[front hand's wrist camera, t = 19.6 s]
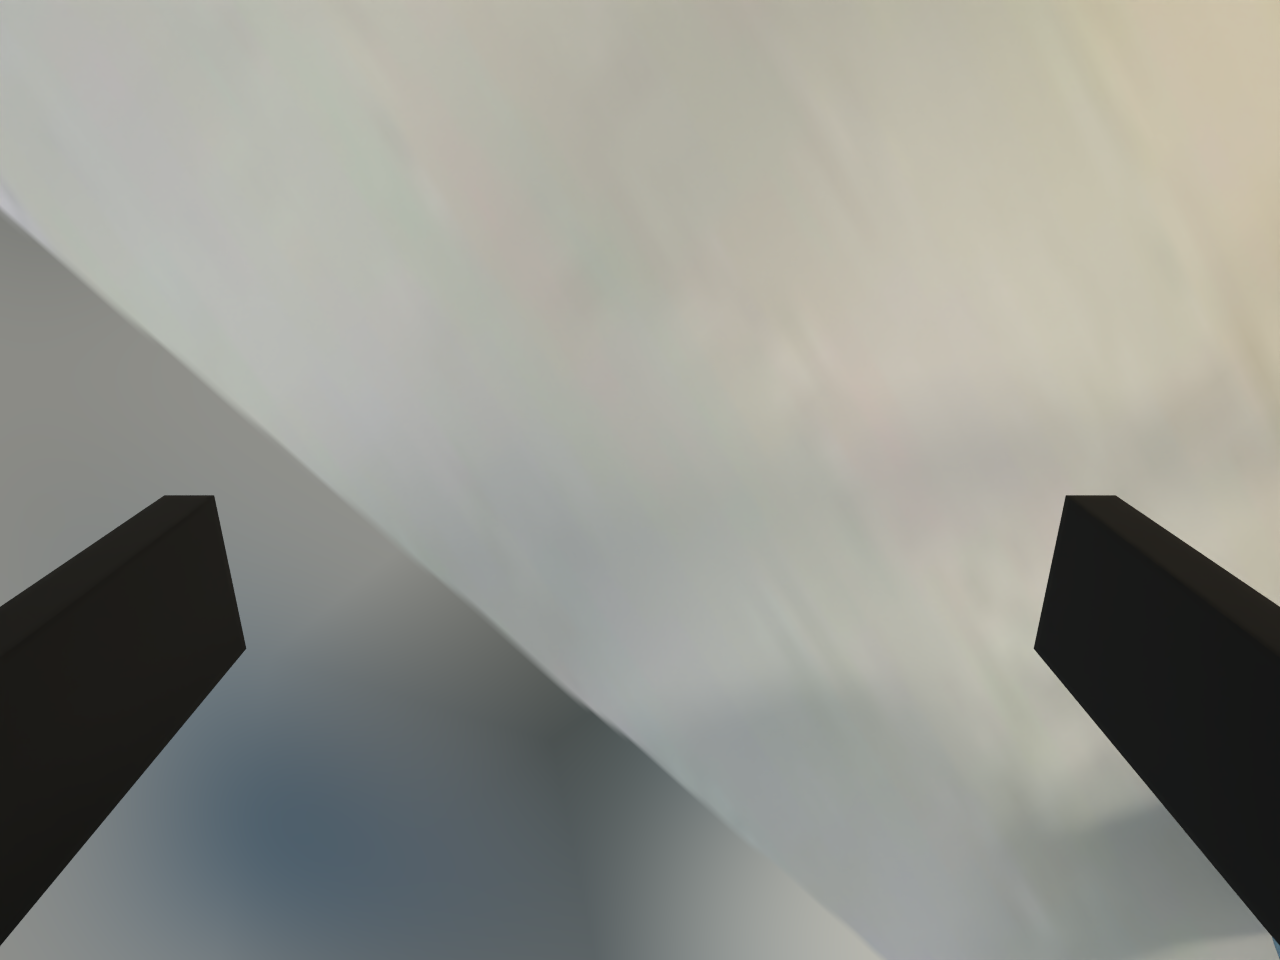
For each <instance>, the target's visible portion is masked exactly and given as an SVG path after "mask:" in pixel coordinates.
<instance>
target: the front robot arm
mask: <svg viewBox="0 0 1280 960" xmlns="http://www.w3.org/2000/svg"><path fill="white" fill-rule="evenodd" d="M245 649H246V646H245V641H244V636H243V631H242V626H241V622H240V617H239V612H238V607H237V602H236V598H235V593H234V588H233V583H232V579H231V574H230V569H229V564H228V560H227V555H226V550H225V545H224V541H223V536H222V531H221V526H220V521H219V517H218V512H217V507H216V502H215V497H214V496H213V495H211V496H210V495H209V496H207V495H205V496H204V495H202V496H199V495H197V496H194V495H192V496H191V495H190V496H187V495H186V496H183V495H182V496H181V495H173V496H172V495H171V496H170V495H168V496H167V495H165V496H163V497H161V498H160V499H158V500H157V501H156V502H154V503H153V504H151V505H150V506H148V507H147V508H145V509H144V510H142V511H141V512H139V513H138V514H136V515H135V516H133V517H132V518H130V519H129V520H128V521H126V522H125V523H123V524H122V525H120V526H119V527H117V528H116V529H114V530H113V531H111V532H110V533H108V534H107V535H105V536H104V537H102V538H101V539H100V540H98V541H97V542H95V543H94V544H92V545H91V546H89V547H88V548H86V549H85V550H83V551H82V552H80V553H79V554H77V555H76V556H75V557H73V558H72V559H70V560H69V561H67V562H66V563H64V564H63V565H61V566H60V567H58V568H57V569H55V570H54V571H52V572H51V573H49V574H48V575H46V576H45V577H44V578H42V579H41V580H39V581H38V582H36V583H35V584H33V585H32V586H30V587H29V588H27V589H26V590H24V591H23V592H21V593H20V594H19V595H17V596H15V597H14V598H13V599H11V600H10V601H8V602H7V603H5V604H4V605H2V606H1V607H0V945H1V944H2V943H3V942H4V941H5V939H6V938H7V937H8V936H9V934H10V933H11V932H12V931H13V930H14V928H15V927H16V926H17V925H18V924H19V922H20V921H21V920H22V919H23V918H24V916H25V915H26V914H27V913H28V912H29V910H30V909H31V908H32V907H33V905H34V904H35V903H36V902H37V901H38V900H39V898H40V897H41V896H42V895H43V893H44V892H45V891H46V890H47V889H48V887H49V886H50V885H51V884H52V883H53V881H54V880H55V879H56V878H57V876H58V875H59V874H60V873H61V872H62V871H63V869H64V868H65V867H66V866H67V864H68V863H69V862H70V861H71V860H72V858H73V857H74V856H75V855H76V854H77V852H78V851H79V850H80V849H81V848H82V846H83V845H84V844H85V843H86V842H87V840H88V839H89V838H90V837H91V835H92V834H93V833H94V832H95V831H96V829H97V828H98V827H99V826H100V825H101V823H102V822H103V821H104V820H105V819H106V817H107V816H108V815H109V814H110V813H111V811H112V810H113V809H114V808H115V806H116V805H117V804H118V803H119V802H120V800H121V799H122V798H123V797H124V796H125V794H126V793H127V792H128V791H129V790H130V788H131V787H132V786H133V785H134V783H135V782H136V781H137V780H138V779H139V777H140V776H141V775H142V774H143V773H144V771H145V770H146V769H147V768H148V767H149V765H150V764H151V763H152V762H153V760H154V759H155V758H156V757H157V756H158V755H159V753H160V752H161V751H162V750H163V748H164V747H165V746H166V745H167V744H168V742H169V741H170V740H171V739H172V738H173V736H174V735H175V734H176V733H177V732H178V730H179V729H180V728H181V727H182V726H183V724H184V723H185V722H186V721H187V719H188V718H189V717H190V716H191V715H192V713H193V712H194V711H195V710H196V709H197V707H198V706H199V705H200V704H201V703H202V701H203V700H204V699H205V698H206V696H207V695H208V694H209V693H210V692H211V691H212V689H213V688H214V687H215V686H216V684H217V683H218V682H219V681H220V680H221V678H222V677H223V676H224V675H225V674H226V672H227V671H228V670H229V669H230V667H231V666H232V665H233V664H234V663H235V662H236V660H237V659H238V658H239V657H240V655H241V654H242V653H243V652H244V651H245ZM1034 649H1035V651H1036V652H1037V653H1038V654H1039V655H1040V657H1041V658H1042V659H1043V660H1044V662H1045V663H1046V664H1047V665H1048V666H1049V668H1050V669H1051V670H1052V671H1053V672H1054V674H1055V675H1056V676H1057V677H1058V678H1059V680H1060V681H1061V682H1062V683H1063V684H1064V686H1065V687H1066V688H1067V689H1068V691H1069V692H1070V693H1071V694H1072V695H1073V697H1074V698H1075V699H1076V700H1077V701H1078V703H1079V704H1080V705H1081V706H1082V707H1083V709H1084V710H1085V711H1086V712H1087V713H1088V715H1089V716H1090V717H1091V718H1092V720H1093V721H1094V722H1095V723H1096V724H1097V726H1098V727H1099V728H1100V729H1101V730H1102V732H1103V733H1104V734H1105V735H1106V736H1107V738H1108V739H1109V740H1110V741H1111V742H1112V744H1113V745H1114V746H1115V747H1116V748H1117V750H1118V751H1119V752H1120V753H1121V755H1122V756H1123V757H1124V758H1125V759H1126V761H1127V762H1128V763H1129V764H1130V765H1131V767H1132V768H1133V769H1134V770H1135V771H1136V773H1137V774H1138V775H1139V776H1140V777H1141V779H1142V780H1143V781H1144V782H1145V784H1146V785H1147V786H1148V787H1149V788H1150V790H1151V791H1152V792H1153V793H1154V794H1155V796H1156V797H1157V798H1158V799H1159V800H1160V802H1161V803H1162V804H1163V805H1164V806H1165V808H1166V809H1167V810H1168V811H1169V813H1170V814H1171V815H1172V816H1173V817H1174V819H1175V820H1176V821H1177V822H1178V823H1179V825H1180V826H1181V827H1182V828H1183V829H1184V831H1185V832H1186V833H1187V834H1188V835H1189V837H1190V838H1191V839H1192V840H1193V842H1194V843H1195V844H1196V845H1197V846H1198V848H1199V849H1200V850H1201V851H1202V852H1203V854H1204V855H1205V856H1206V857H1207V858H1208V860H1209V861H1210V862H1211V863H1212V864H1213V866H1214V867H1215V868H1216V869H1217V871H1218V872H1219V873H1220V874H1221V875H1222V877H1223V878H1224V879H1225V880H1226V881H1227V883H1228V884H1229V885H1230V886H1231V887H1232V889H1233V890H1234V891H1235V892H1236V893H1237V895H1238V896H1239V897H1240V898H1241V900H1242V901H1243V902H1244V903H1245V904H1246V906H1247V907H1248V908H1249V909H1250V910H1251V912H1252V913H1253V914H1254V915H1255V916H1256V918H1257V919H1258V920H1259V921H1260V922H1261V924H1262V925H1263V926H1264V927H1265V928H1266V930H1267V931H1268V932H1269V933H1270V935H1271V936H1272V937H1273V938H1274V939H1275V941H1276V942H1277V943H1278V944H1279V945H1280V607H1279V606H1278V605H1276V604H1275V603H1273V602H1272V601H1270V600H1269V599H1267V598H1266V597H1265V596H1263V595H1262V594H1260V593H1259V592H1257V591H1256V590H1254V589H1253V588H1251V587H1250V586H1248V585H1247V584H1245V583H1244V582H1242V581H1241V580H1239V579H1238V578H1236V577H1235V576H1234V575H1232V574H1231V573H1229V572H1228V571H1226V570H1225V569H1223V568H1222V567H1220V566H1219V565H1217V564H1216V563H1214V562H1213V561H1211V560H1210V559H1208V558H1207V557H1206V556H1204V555H1203V554H1201V553H1200V552H1198V551H1197V550H1195V549H1194V548H1192V547H1191V546H1189V545H1188V544H1186V543H1185V542H1183V541H1182V540H1180V539H1179V538H1178V537H1176V536H1175V535H1173V534H1172V533H1170V532H1169V531H1167V530H1166V529H1164V528H1163V527H1161V526H1160V525H1158V524H1157V523H1155V522H1154V521H1152V520H1151V519H1150V518H1148V517H1147V516H1145V515H1144V514H1142V513H1141V512H1139V511H1138V510H1136V509H1135V508H1133V507H1132V506H1130V505H1129V504H1127V503H1126V502H1124V501H1123V500H1122V499H1120V498H1119V497H1117V496H1116V495H1066V497H1065V502H1064V507H1063V512H1062V517H1061V521H1060V526H1059V531H1058V536H1057V540H1056V545H1055V550H1054V555H1053V559H1052V564H1051V569H1050V574H1049V579H1048V583H1047V588H1046V593H1045V598H1044V602H1043V607H1042V612H1041V617H1040V622H1039V626H1038V631H1037V636H1036V641H1035V645H1034Z"/></svg>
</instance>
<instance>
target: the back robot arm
mask: <svg viewBox="0 0 1280 960" xmlns="http://www.w3.org/2000/svg"><path fill="white" fill-rule="evenodd" d="M1272 938H1273V937H1272ZM1273 942H1274V945H1275V948H1276V950H1277V953H1278V956H1279V958H1280V945H1279V944H1278V943H1277V942H1276V941H1275V939H1274V938H1273Z"/></svg>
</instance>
